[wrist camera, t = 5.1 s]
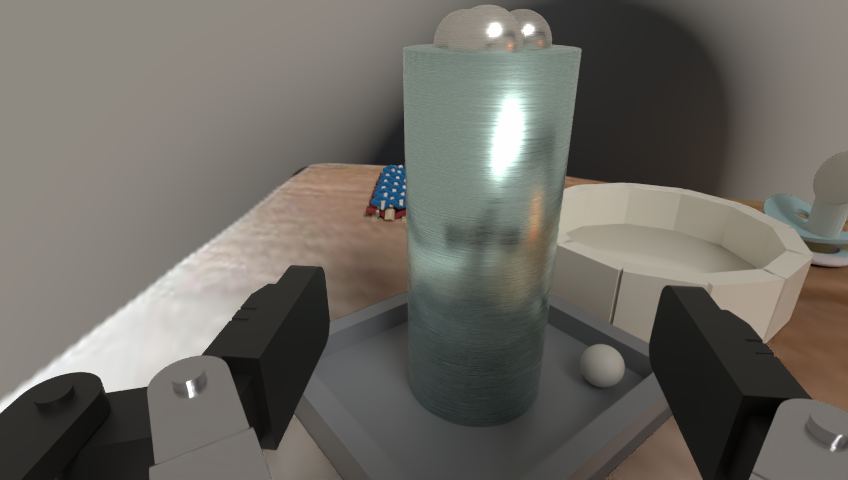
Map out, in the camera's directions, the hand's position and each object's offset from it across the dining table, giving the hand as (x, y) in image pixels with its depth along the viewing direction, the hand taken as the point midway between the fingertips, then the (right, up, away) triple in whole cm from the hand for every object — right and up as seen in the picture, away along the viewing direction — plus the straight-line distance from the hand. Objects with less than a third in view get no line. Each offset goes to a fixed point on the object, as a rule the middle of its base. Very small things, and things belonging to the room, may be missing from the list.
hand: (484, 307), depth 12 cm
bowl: (+11, -1, +16) cm, 19 cm away
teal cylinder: (0, -4, +7) cm, 8 cm away
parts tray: (0, -5, +8) cm, 9 cm away
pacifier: (+23, +1, +20) cm, 31 cm away
